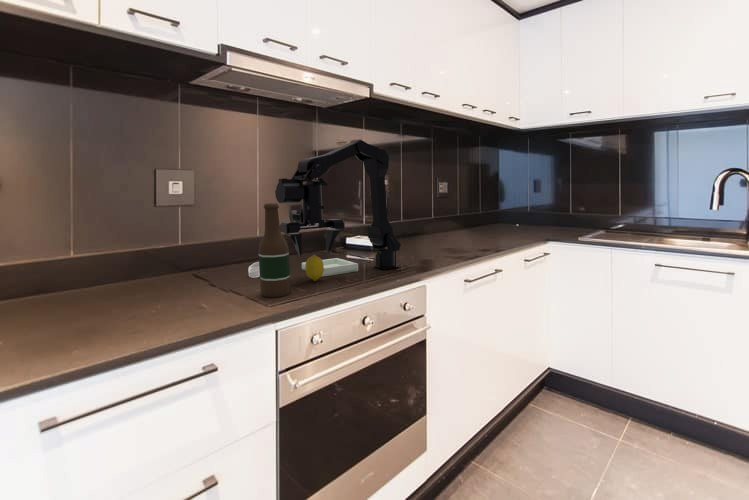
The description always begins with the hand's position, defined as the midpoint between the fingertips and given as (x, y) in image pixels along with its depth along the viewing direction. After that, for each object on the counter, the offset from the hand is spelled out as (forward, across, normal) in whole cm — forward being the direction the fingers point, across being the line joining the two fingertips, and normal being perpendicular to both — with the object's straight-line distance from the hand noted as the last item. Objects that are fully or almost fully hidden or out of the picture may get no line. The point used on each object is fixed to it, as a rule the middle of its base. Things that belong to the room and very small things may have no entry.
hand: (314, 254), depth 121 cm
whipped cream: (+8, +11, -18) cm, 23 cm away
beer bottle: (+8, +15, +7) cm, 19 cm away
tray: (+8, -11, -11) cm, 17 cm away
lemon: (+8, 0, 0) cm, 8 cm away
